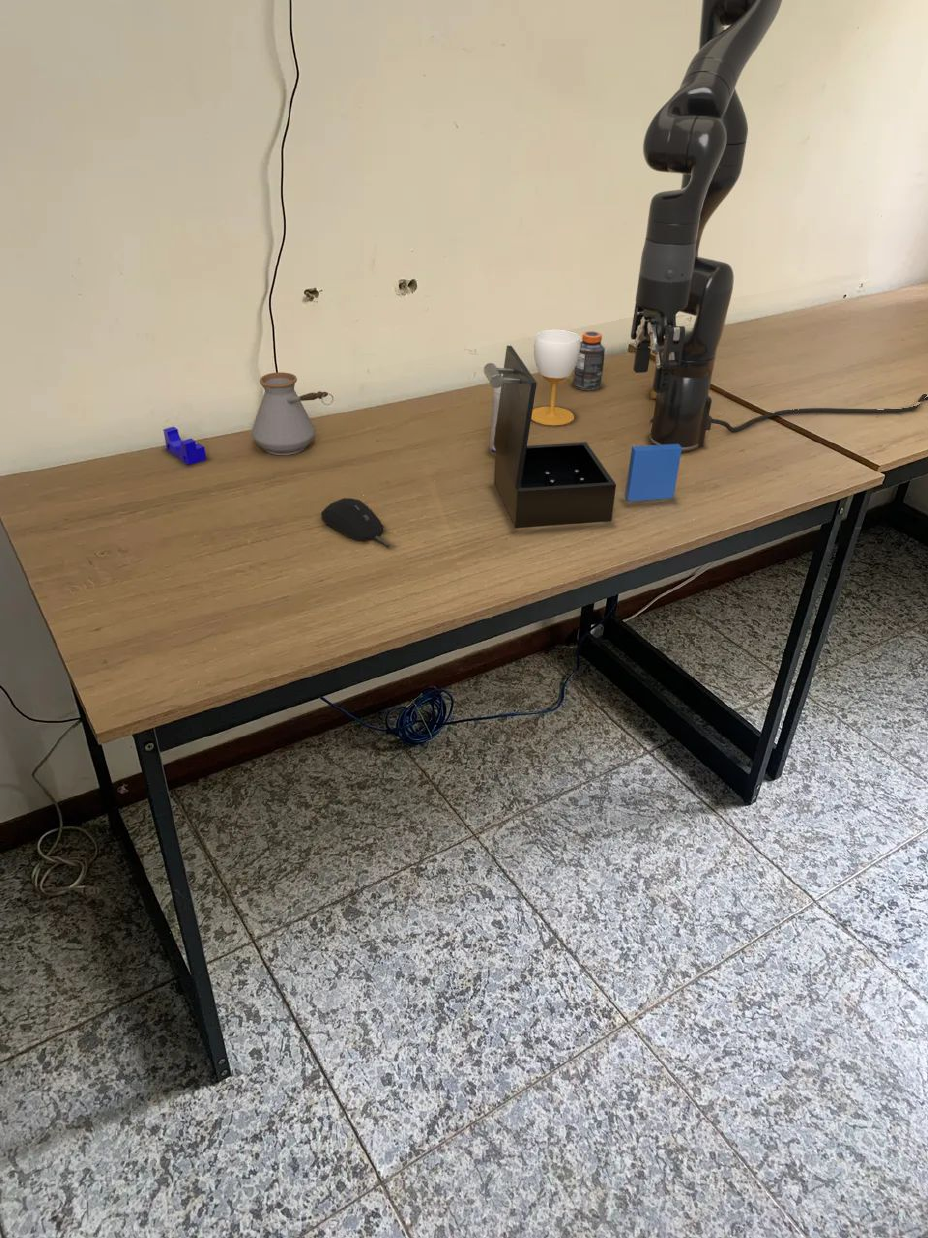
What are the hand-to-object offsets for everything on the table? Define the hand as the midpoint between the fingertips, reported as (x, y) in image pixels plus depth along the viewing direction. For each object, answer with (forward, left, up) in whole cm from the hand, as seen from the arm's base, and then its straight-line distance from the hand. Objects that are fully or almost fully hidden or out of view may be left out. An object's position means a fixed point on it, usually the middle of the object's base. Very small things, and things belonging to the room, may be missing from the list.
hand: (650, 381), depth 139 cm
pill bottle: (-8, -52, -21) cm, 57 cm away
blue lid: (-3, 0, -21) cm, 21 cm away
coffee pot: (+54, -26, -21) cm, 64 cm away
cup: (+4, -37, -21) cm, 43 cm away
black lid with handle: (+21, -1, -5) cm, 21 cm away
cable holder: (+74, -29, -21) cm, 82 cm away
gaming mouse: (+46, +2, -21) cm, 51 cm away
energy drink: (+17, -22, -21) cm, 35 cm away
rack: (+12, -1, -20) cm, 23 cm away
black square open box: (+14, -1, -21) cm, 25 cm away
